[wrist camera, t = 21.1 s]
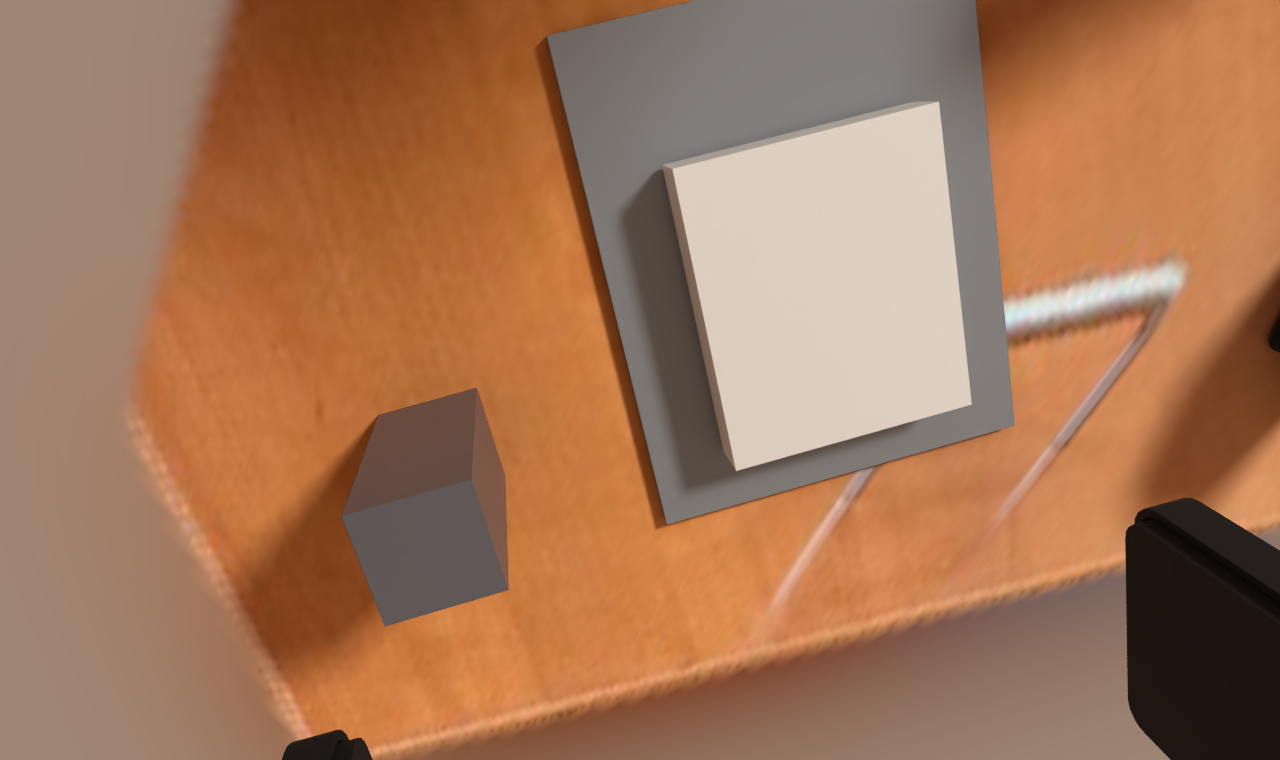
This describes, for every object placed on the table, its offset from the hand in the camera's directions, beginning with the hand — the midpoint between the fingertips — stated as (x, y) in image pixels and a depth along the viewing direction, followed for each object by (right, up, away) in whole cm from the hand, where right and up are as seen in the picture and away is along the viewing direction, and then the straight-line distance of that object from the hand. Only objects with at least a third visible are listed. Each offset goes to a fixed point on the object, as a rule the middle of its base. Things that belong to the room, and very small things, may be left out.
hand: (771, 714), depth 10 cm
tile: (+4, +13, +22) cm, 26 cm away
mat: (+5, +9, +25) cm, 27 cm away
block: (-10, +1, +25) cm, 27 cm away
